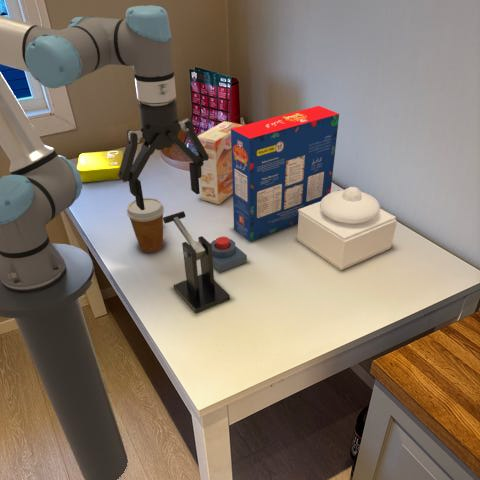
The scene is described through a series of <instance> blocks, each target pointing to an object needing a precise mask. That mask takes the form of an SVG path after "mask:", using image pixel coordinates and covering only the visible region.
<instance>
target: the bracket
mask: <svg viewBox="0 0 480 480" xmlns="http://www.w3.org/2000/svg"><path fill="white" fill-rule="evenodd" d="M197 242H200V243H201V245H202V246H203V248H204V249H205V256H204V258H201V259H199V261H200V262H199V264H200V273H201V274H199V273H198V272H199V271H198V263H197V262H198V260H196V251H195V250H194V249H193V248H192V247H191V246H190V245H189V243H188V242H187V241H183V242H182V243H181V246H182V255H183V262H184V263H183V265H184V271H185V280H183V281H180V282H178V283H175V284H173V290H174V291H175V292H176V293H177V294H178V295H179V296H180V297H181V299H182V300H183V301H184V302H185V303H186V304H187V305H188V306H189V307H190V309H191V310H192V311H193V312H194V313H195V314H198V313H200V312H203V311H205V310H208V309H210V308H212V307H215V306H217V305H220V304H222V303H224V302H227V301H229V300H231V295H230V294H229V293H228V292H227V291H226V290H225V289H224V288H223V287H222V286H221V285H220V284H219V283H218V282H217V281H216V280H215V273H214V272H215V271H214V266H213V256H212V245H211V244H210V243H211V242H209V241H208V240H207V239H206V238H205V237H204V236H202V235H201V236H198V237H197Z"/></svg>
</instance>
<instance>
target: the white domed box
mask: <svg viewBox="0 0 480 480" xmlns="http://www.w3.org/2000/svg"><path fill="white" fill-rule="evenodd" d="M298 212H299V218H298V224H297V235H296V236H297V237H296V241H298V242H299V243H301V244H302V245H304V246H305V247H306V248H308V249H309V250H311V251H312V252H314V253H315V254H316V255H318V256H320V257H321V258H322V259H324V260H325V261H327V262H329V264H331V265H333V266H334V267H335V268H337V269H339V270H340V271H343V270H345V269H347V268H350V267H351V266H354V265H356V264H359V263H361V262H363V261H365V260H368V259H369V258H372V257H374V256H376V255H378V254H381V253H383V252H386V251H388V250H390V249H391V248H392V246H393V241H394V236H395V231H396V227H397V222H398V220H397V217H396V216H395V215H393V214H392V213H390V212H388V211H386V210H384V209H382V208H381V206H380V203H379V201H378V200H377V199H376V198H375V197H373V196H372V195H370V194H368V193H366V192H364V191H361V190H360V189H359V188H358V187H356V186H349V187H347V188H345V189H341V190H336V191H331V193H330V194H328V195H326V196H325V197H324V198H323V199H322V200H321V201H320V202H317V203H315V204H312V205H309V206H306V207H304V208H301V209H298Z"/></svg>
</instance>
